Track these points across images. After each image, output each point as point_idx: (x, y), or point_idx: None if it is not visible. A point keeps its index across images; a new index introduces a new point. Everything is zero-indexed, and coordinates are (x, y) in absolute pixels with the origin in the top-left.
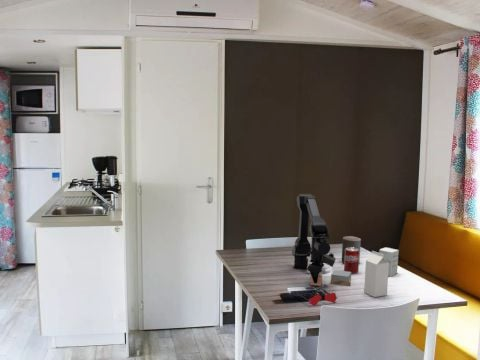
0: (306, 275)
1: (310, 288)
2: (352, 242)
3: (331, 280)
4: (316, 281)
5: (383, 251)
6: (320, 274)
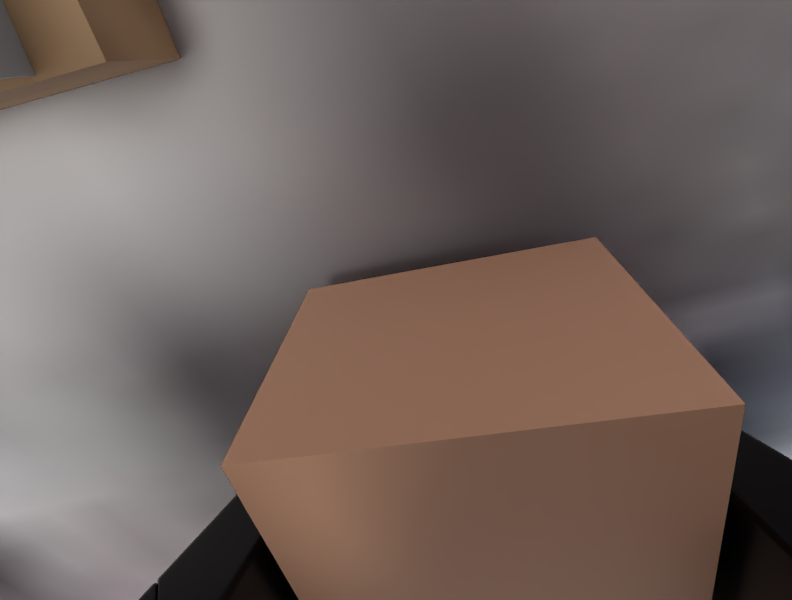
0: (88, 566)
1: (744, 388)
2: None
3: (97, 32)
4: None
5: None
6: (311, 507)
